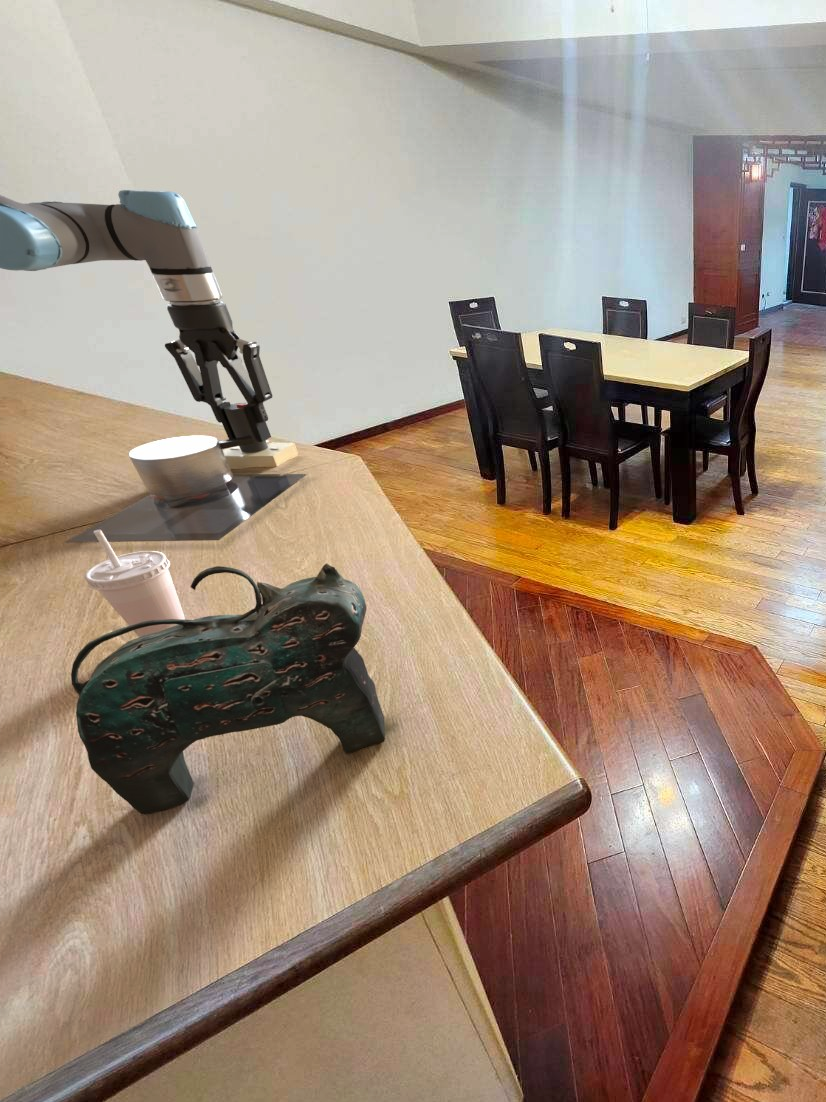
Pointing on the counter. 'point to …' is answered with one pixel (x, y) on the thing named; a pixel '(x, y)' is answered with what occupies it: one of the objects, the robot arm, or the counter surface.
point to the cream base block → (260, 456)
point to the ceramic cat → (226, 684)
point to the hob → (193, 512)
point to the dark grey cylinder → (243, 427)
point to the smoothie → (137, 587)
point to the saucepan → (185, 465)
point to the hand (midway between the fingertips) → (250, 439)
